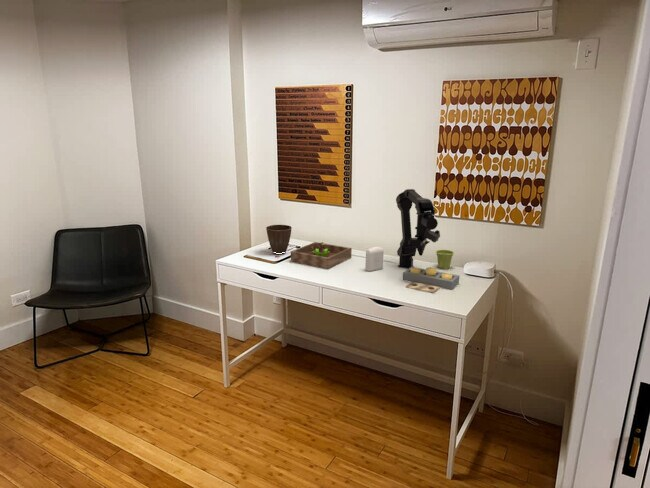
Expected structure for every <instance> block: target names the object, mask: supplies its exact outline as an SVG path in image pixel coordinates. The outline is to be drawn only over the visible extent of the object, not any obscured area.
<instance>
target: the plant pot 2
mask: <svg viewBox="0 0 650 488" xmlns="http://www.w3.org/2000/svg"><path fill="white" fill-rule="evenodd" d="M454 253H455V252H454V251H452V250H447V249H439V250H436V251H435V254H436V257H437V259H436V260H437V267H438V269H444V270H446V269H447V270H448V269H450V267H451V264H452V259H453V256H454Z"/></svg>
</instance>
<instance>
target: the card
mask: <svg viewBox="0 0 650 488" xmlns="http://www.w3.org/2000/svg"><path fill="white" fill-rule="evenodd" d="M405 288H406V289H410V290H415V291H419V292H420V291H421V292H424V293H425V292H426V293H431V294H435V293H436V292H437V291H439V290H440V287H437V286H432V285H427V284H422V283H417V282H409V283H408V284H406V286H405Z"/></svg>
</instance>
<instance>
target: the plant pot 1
mask: <svg viewBox="0 0 650 488" xmlns="http://www.w3.org/2000/svg"><path fill="white" fill-rule="evenodd" d="M265 230H266V234H267V236H266V237H267V239H268V243H269V246H270V250H271V252H272V255H276V256H282V255H285V254H286V253H287V250H288V247H289V244H290V240H291V234H292V226H291V225H287V224H272V225H268V226H266V227H265ZM273 252H276V253H282V252H285V253H282V254H276V253H273Z"/></svg>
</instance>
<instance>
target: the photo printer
mask: <svg viewBox="0 0 650 488" xmlns="http://www.w3.org/2000/svg"><path fill="white" fill-rule="evenodd" d="M383 268H384V248H383V247H380V246H373V247H370V248H368V249H367V250H366V251H365V271H367V272H372V271H378V270H383Z"/></svg>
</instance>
